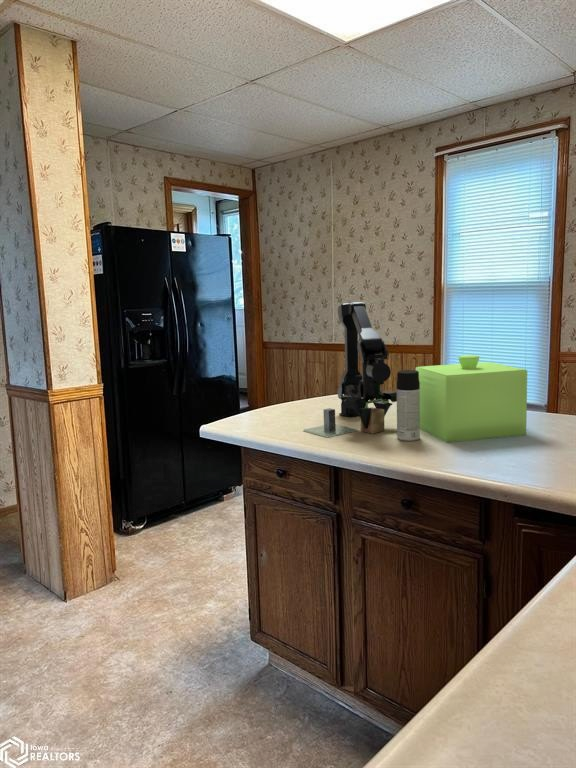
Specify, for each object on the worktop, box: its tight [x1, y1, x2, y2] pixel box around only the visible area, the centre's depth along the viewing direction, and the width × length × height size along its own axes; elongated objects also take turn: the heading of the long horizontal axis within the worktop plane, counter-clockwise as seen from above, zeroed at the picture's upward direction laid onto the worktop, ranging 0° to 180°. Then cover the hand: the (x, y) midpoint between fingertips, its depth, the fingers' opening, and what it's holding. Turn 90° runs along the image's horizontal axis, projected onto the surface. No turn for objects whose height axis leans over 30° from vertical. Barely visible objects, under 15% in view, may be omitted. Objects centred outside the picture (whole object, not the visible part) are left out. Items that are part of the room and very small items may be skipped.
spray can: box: [396, 369, 421, 442], centre depth 169 cm, size 7×7×20 cm
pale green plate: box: [303, 407, 358, 438], centre depth 183 cm, size 12×12×7 cm
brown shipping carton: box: [359, 406, 385, 434], centre depth 180 cm, size 5×5×7 cm
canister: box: [415, 354, 528, 443], centre depth 175 cm, size 25×21×23 cm
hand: (372, 426), depth 181 cm, fingers closed on brown shipping carton, 5 cm apart
